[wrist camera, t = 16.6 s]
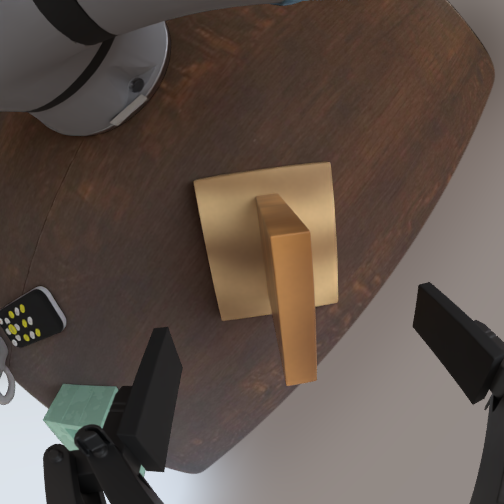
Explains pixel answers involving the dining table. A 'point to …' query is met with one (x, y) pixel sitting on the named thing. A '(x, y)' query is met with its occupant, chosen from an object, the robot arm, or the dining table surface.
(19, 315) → the remote control
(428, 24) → the dining table surface
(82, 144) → the dining table surface
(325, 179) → the board
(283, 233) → the toast
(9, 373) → the mug
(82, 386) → the toaster
